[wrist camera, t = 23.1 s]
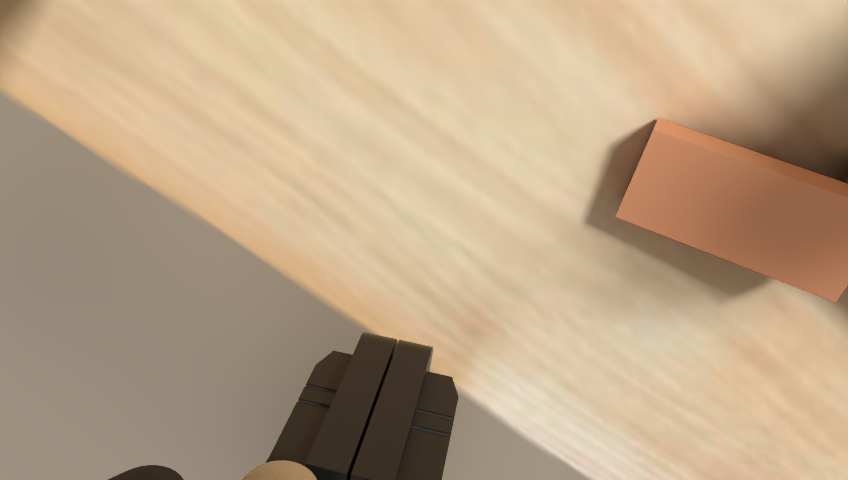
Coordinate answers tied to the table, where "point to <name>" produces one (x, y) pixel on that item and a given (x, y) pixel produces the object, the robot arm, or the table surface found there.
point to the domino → (742, 208)
